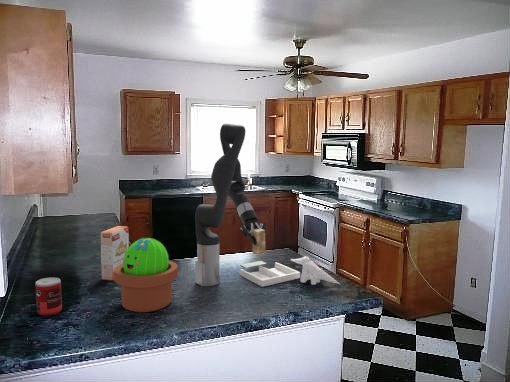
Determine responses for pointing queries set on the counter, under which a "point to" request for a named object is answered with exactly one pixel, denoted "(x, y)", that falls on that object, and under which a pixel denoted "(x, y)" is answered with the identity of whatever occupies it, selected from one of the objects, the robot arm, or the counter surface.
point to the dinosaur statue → (312, 271)
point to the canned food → (48, 296)
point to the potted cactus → (146, 276)
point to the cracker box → (113, 249)
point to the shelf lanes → (271, 275)
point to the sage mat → (253, 264)
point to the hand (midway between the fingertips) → (260, 243)
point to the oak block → (259, 241)
